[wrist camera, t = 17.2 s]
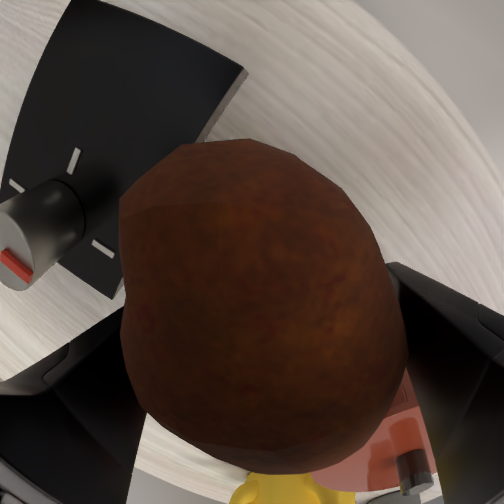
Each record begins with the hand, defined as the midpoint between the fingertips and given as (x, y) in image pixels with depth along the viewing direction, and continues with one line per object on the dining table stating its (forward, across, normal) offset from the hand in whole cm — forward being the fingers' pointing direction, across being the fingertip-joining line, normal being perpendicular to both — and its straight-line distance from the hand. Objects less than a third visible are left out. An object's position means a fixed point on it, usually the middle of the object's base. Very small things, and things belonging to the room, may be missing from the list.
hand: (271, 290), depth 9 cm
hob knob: (+5, +11, -2) cm, 13 cm away
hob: (+8, +8, -5) cm, 13 cm away
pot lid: (0, -7, +13) cm, 15 cm away
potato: (+1, 0, 0) cm, 1 cm away
